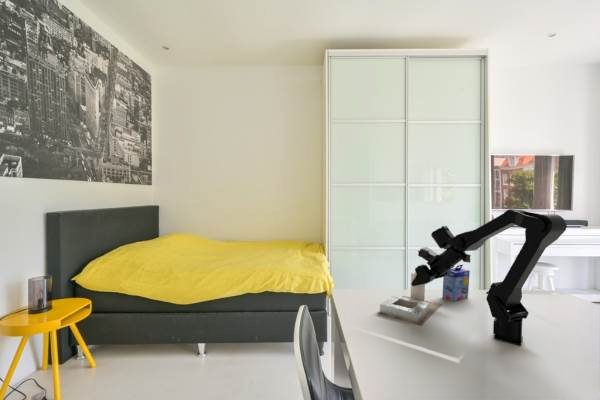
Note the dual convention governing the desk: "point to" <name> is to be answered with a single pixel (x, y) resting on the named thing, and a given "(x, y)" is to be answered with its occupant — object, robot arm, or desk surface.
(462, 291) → the ink cartridge box
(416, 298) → the white bottle
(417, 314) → the grey square frame
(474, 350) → the desk surface
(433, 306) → the mount board
